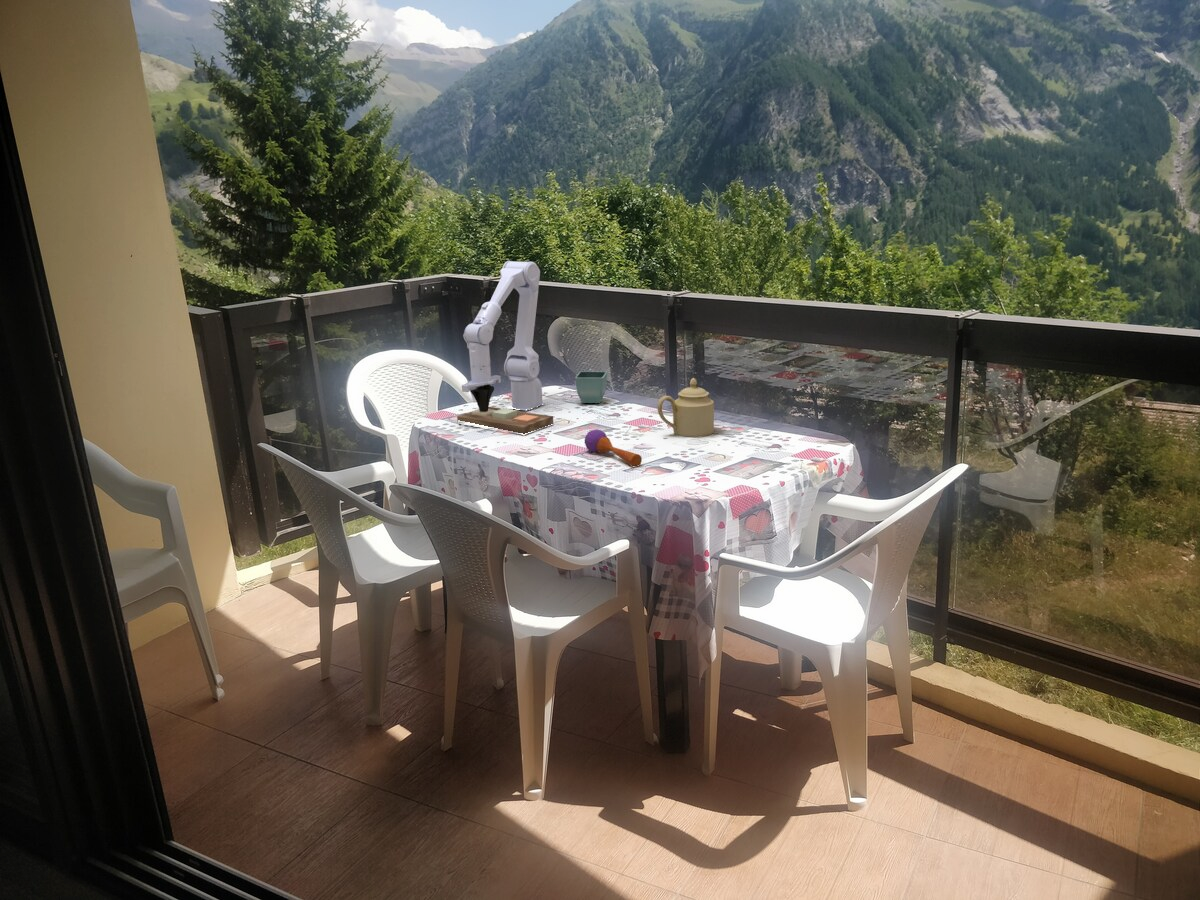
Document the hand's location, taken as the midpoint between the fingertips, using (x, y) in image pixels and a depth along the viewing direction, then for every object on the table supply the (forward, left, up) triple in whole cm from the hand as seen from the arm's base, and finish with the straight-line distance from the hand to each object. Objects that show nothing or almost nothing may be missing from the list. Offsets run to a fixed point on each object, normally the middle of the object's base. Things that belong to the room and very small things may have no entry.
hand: (483, 411), depth 277 cm
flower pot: (-33, +15, -3) cm, 36 cm away
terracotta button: (0, +16, -2) cm, 16 cm away
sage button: (0, +8, -1) cm, 8 cm away
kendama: (+11, +53, -3) cm, 55 cm away
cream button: (0, 0, -2) cm, 2 cm away
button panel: (0, +8, -3) cm, 9 cm away
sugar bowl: (-17, +59, -3) cm, 61 cm away
